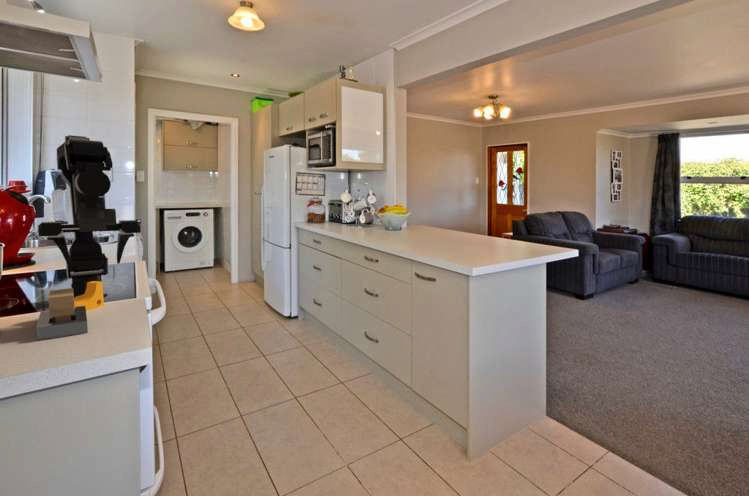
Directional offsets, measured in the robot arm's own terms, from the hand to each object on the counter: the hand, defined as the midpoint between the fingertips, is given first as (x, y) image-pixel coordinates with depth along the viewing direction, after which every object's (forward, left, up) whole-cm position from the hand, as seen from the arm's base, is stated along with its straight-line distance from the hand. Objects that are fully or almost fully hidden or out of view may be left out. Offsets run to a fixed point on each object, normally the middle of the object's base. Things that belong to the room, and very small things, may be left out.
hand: (94, 265), depth 93 cm
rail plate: (+9, 0, -12) cm, 15 cm away
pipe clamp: (-2, -8, -12) cm, 15 cm away
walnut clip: (+8, 0, -12) cm, 15 cm away
